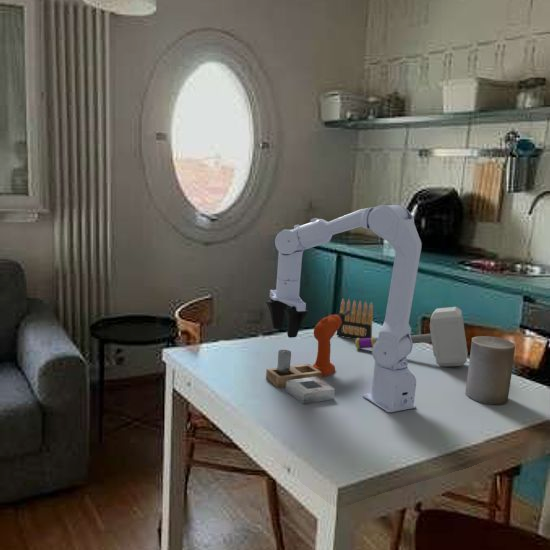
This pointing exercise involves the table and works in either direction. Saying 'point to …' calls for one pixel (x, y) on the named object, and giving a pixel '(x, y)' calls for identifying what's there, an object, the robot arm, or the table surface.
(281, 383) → the rack
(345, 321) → the ammunition clip
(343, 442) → the table surface
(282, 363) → the grey metal cylinder
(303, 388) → the socket block
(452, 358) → the hammer
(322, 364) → the toy drill
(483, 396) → the pillar candle
